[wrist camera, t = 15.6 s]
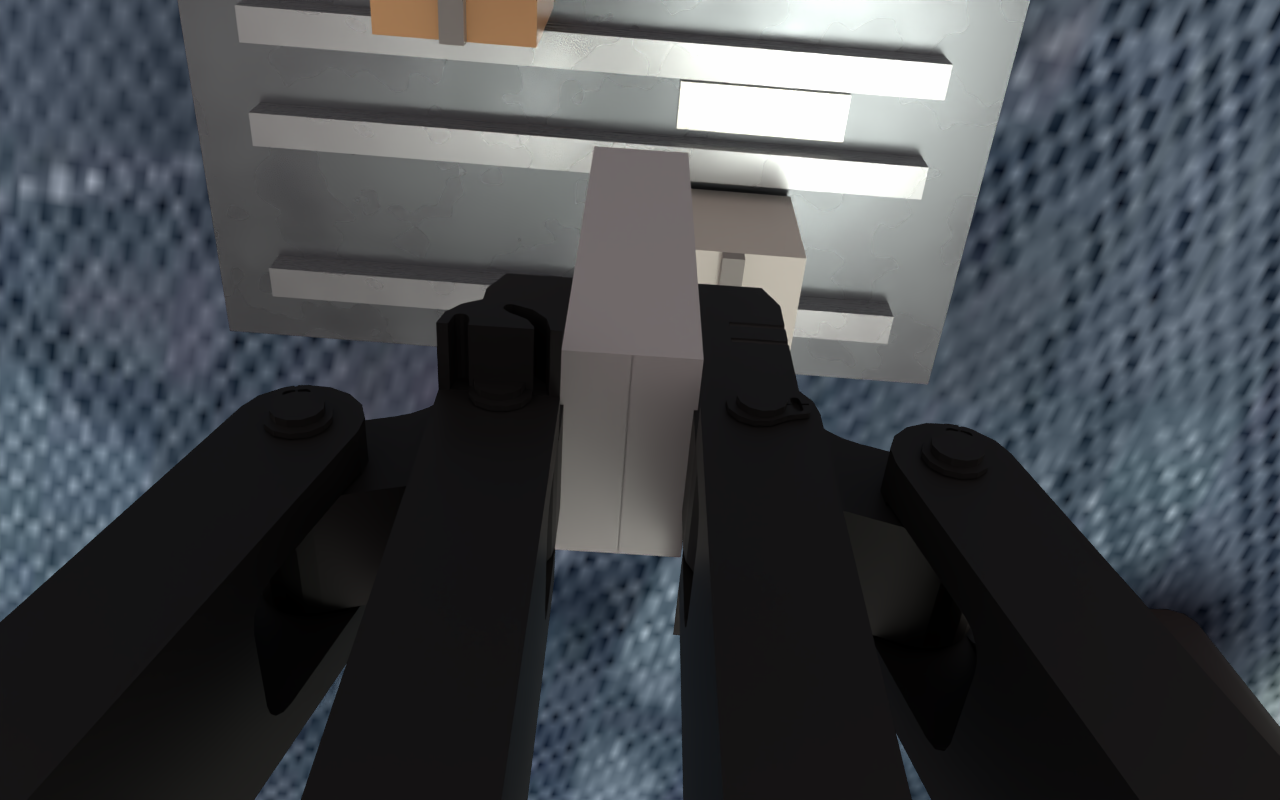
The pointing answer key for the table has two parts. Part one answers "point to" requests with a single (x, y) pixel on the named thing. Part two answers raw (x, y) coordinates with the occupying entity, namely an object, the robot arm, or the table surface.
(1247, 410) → the table surface
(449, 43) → the tan cardboard parcel
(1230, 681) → the coffee cup
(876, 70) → the gray ridged tray
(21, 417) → the table surface
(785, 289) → the ivory block
